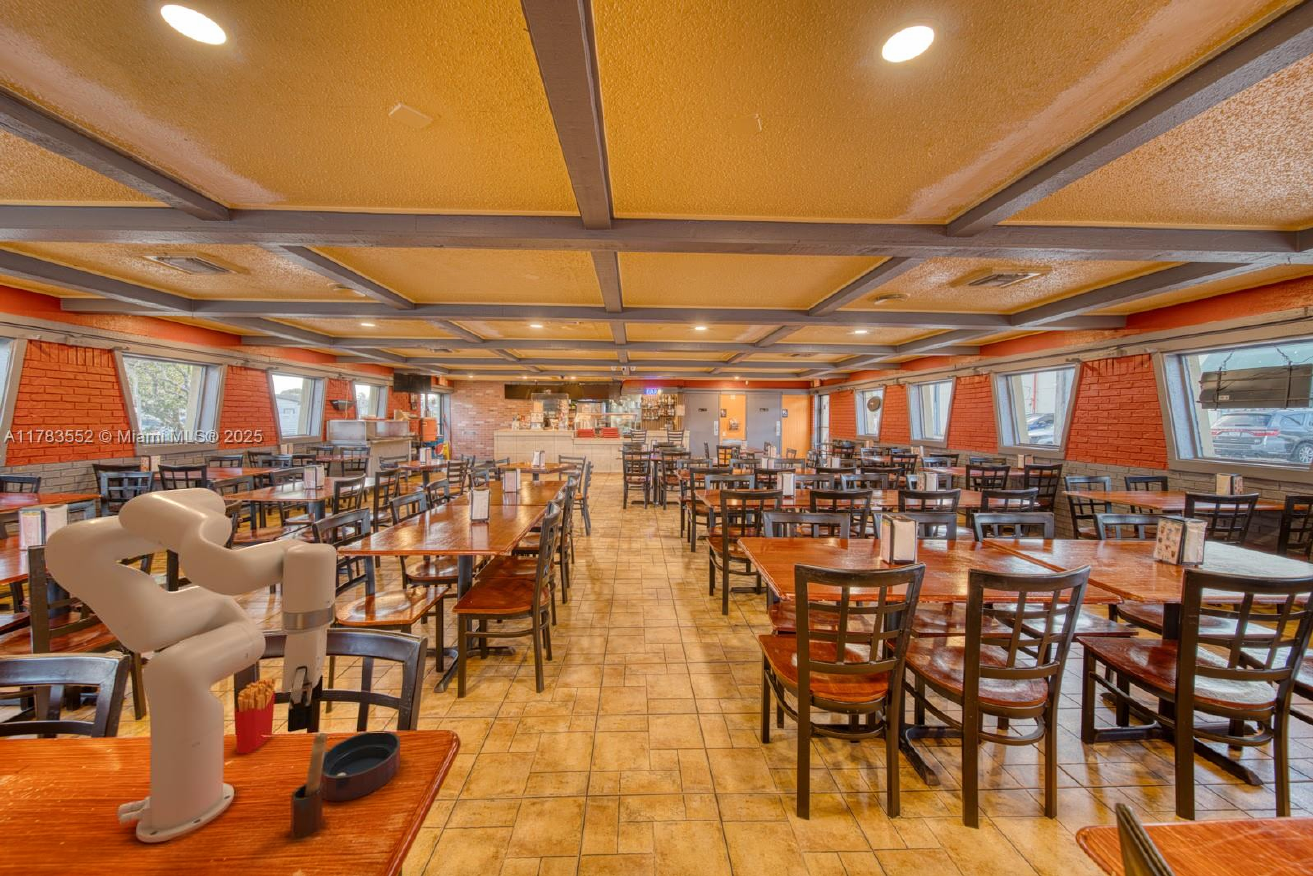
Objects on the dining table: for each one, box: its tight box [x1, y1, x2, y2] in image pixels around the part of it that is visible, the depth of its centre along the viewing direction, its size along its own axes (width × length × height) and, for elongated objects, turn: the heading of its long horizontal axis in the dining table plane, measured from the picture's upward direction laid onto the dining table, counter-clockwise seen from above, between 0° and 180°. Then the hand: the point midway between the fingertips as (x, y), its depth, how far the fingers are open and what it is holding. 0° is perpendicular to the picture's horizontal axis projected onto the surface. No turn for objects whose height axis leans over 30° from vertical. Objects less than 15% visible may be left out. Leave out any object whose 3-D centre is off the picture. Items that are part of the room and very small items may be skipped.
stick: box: [304, 732, 328, 798], centre depth 83 cm, size 2×2×16 cm
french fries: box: [233, 677, 277, 755], centre depth 105 cm, size 9×4×13 cm, turn 3°
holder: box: [290, 782, 324, 839], centre depth 82 cm, size 4×4×7 cm
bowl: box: [320, 730, 402, 802], centre depth 95 cm, size 14×14×5 cm
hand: (305, 713), depth 82 cm, fingers open, 9 cm apart
